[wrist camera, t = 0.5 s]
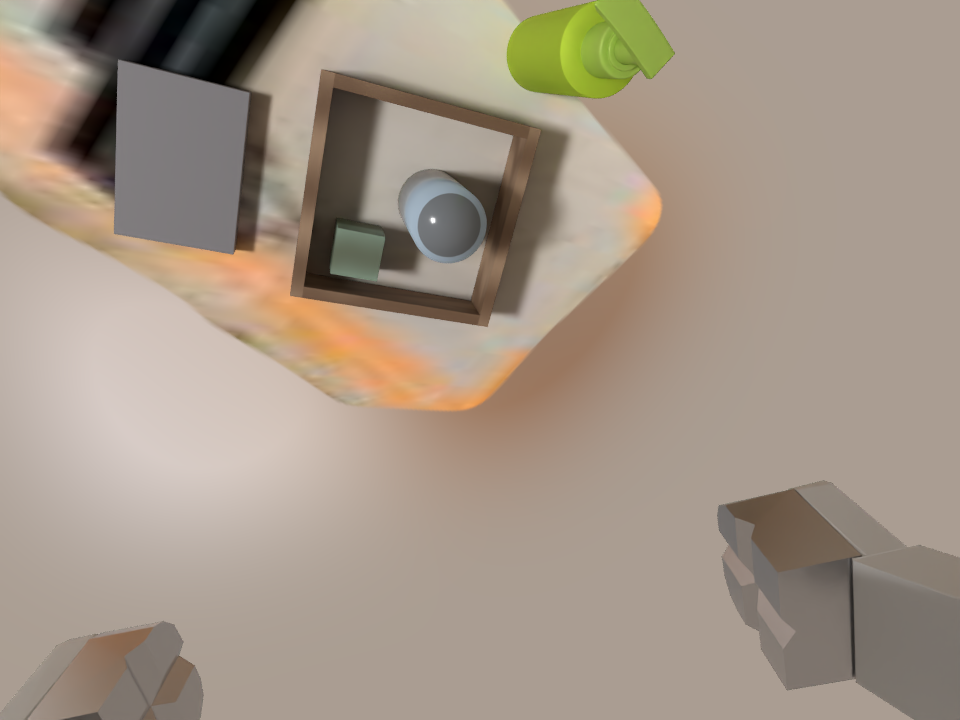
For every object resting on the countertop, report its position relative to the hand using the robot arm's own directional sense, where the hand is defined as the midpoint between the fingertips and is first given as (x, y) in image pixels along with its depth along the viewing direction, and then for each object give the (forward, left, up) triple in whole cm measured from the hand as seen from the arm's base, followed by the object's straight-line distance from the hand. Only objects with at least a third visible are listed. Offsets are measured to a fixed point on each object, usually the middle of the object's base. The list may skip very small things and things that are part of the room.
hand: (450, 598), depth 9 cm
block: (+7, +2, -49) cm, 49 cm away
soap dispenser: (-12, +14, -49) cm, 53 cm away
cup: (+2, +8, -49) cm, 50 cm away
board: (+3, -12, -49) cm, 50 cm away
